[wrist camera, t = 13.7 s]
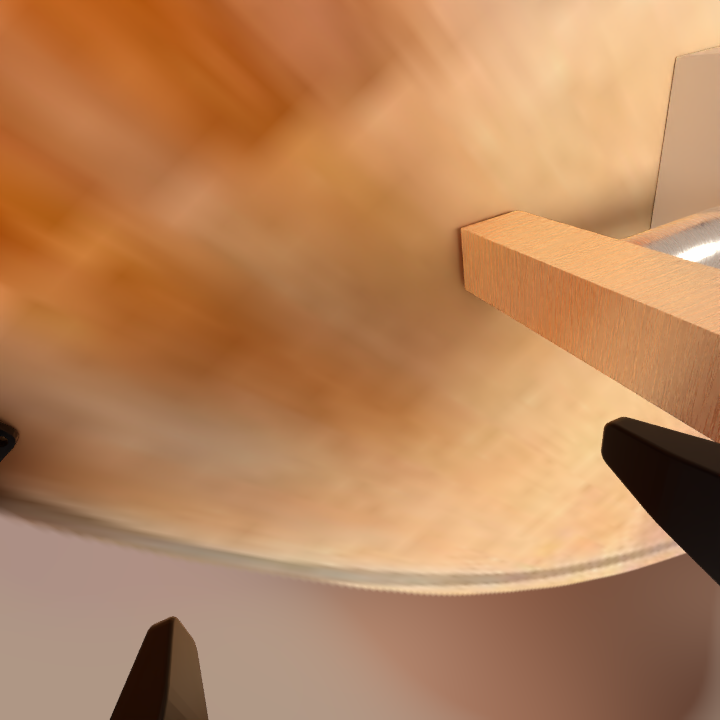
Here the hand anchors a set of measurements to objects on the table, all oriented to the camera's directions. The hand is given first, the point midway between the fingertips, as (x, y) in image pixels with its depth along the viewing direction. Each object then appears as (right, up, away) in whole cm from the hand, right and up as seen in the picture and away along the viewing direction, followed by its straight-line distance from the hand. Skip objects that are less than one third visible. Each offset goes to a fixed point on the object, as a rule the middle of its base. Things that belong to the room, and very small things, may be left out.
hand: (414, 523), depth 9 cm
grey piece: (+10, +11, +14) cm, 21 cm away
